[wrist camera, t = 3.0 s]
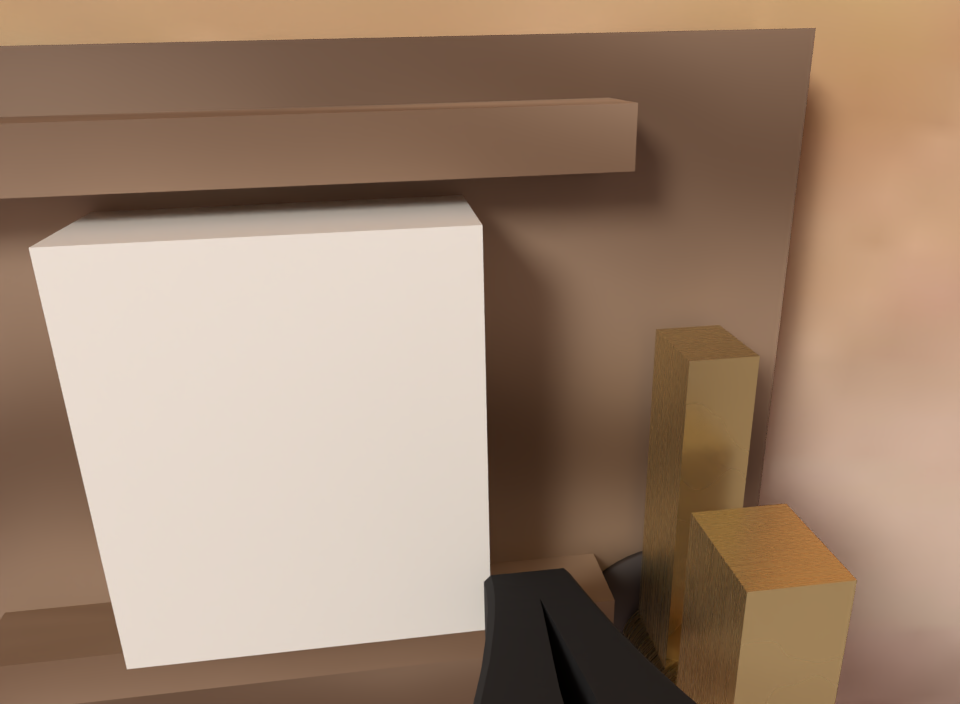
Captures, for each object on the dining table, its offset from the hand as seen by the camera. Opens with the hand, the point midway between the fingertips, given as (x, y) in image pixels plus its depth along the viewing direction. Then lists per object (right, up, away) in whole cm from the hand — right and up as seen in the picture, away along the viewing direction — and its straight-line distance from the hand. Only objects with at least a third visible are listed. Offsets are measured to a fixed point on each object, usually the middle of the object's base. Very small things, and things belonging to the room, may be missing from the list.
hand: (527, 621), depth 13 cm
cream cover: (-4, +4, +1) cm, 6 cm away
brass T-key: (+3, -1, +4) cm, 5 cm away
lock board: (-4, +3, +4) cm, 6 cm away
